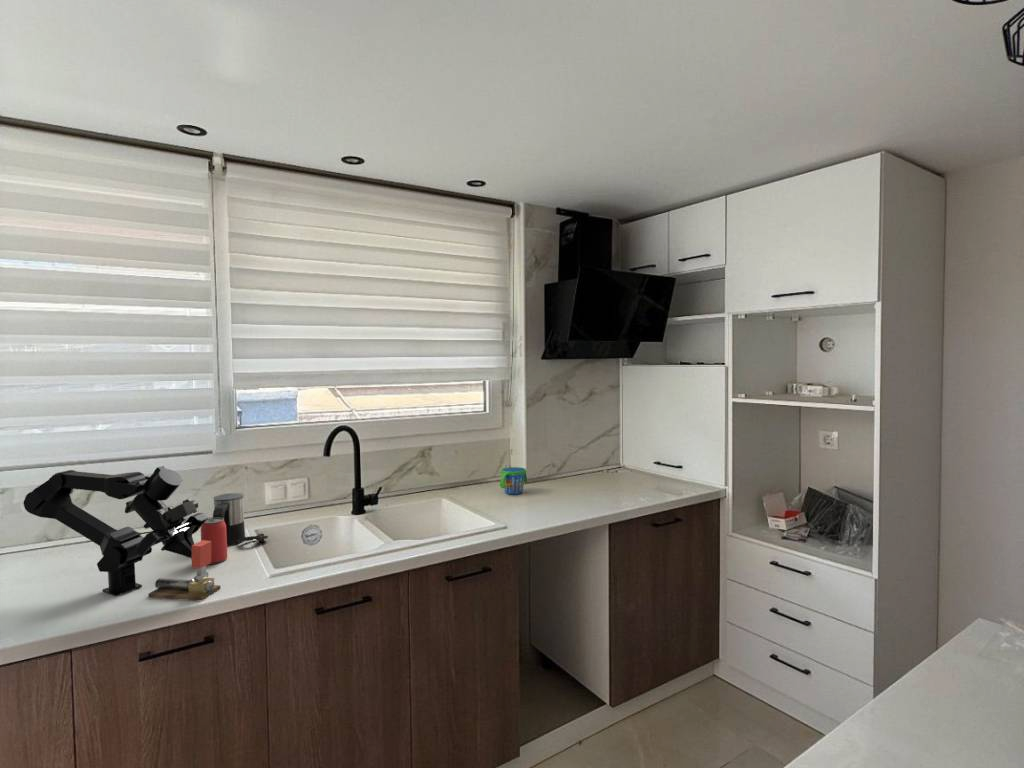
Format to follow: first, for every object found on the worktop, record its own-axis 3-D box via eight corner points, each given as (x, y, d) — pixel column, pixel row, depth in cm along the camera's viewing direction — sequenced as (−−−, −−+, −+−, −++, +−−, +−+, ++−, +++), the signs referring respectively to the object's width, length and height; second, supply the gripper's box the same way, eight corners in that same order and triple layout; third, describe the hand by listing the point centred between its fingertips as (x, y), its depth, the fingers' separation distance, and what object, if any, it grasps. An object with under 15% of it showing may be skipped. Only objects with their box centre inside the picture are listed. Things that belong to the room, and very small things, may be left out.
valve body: (152, 592, 143) (152, 580, 143) (164, 585, 147) (164, 574, 147) (205, 595, 141) (205, 583, 141) (216, 588, 145) (215, 577, 145)
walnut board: (148, 597, 142) (148, 593, 142) (169, 586, 149) (169, 582, 148) (201, 600, 139) (201, 596, 139) (220, 589, 146) (220, 585, 146)
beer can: (221, 555, 171) (219, 515, 171) (231, 559, 167) (229, 519, 166) (198, 561, 166) (196, 520, 166) (208, 566, 162) (206, 524, 161)
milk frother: (215, 539, 186) (213, 494, 186) (268, 532, 193) (266, 489, 192) (211, 553, 173) (209, 504, 173) (268, 545, 179) (266, 499, 179)
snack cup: (518, 487, 252) (517, 464, 252) (535, 491, 245) (535, 468, 244) (491, 494, 241) (491, 470, 241) (509, 498, 234) (509, 473, 233)
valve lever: (191, 582, 141) (191, 545, 141) (202, 576, 145) (202, 540, 145) (200, 583, 141) (200, 546, 140) (211, 577, 145) (211, 541, 144)
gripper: (144, 500, 134) (189, 548, 132) (199, 482, 152) (239, 524, 151) (116, 532, 135) (160, 580, 134) (174, 510, 154) (213, 552, 153)
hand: (196, 557), depth 143 cm, fingers closed, pressing on valve lever
